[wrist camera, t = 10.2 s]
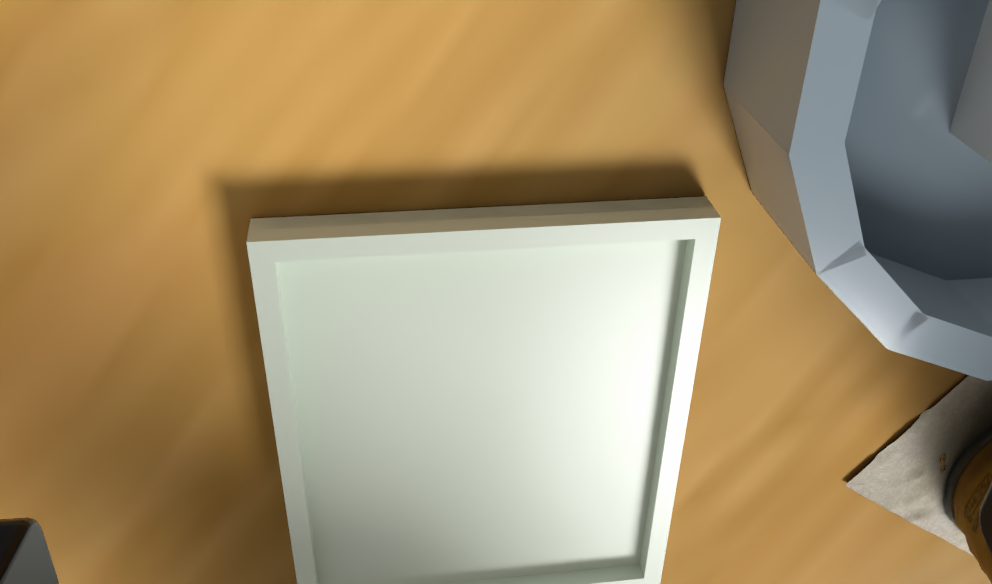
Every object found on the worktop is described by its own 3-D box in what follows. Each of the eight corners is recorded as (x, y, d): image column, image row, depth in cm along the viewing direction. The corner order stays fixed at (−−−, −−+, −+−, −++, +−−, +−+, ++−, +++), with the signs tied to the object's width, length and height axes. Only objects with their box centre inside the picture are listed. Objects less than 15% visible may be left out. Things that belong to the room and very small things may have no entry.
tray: (650, 561, 28) (659, 588, 27) (304, 594, 26) (303, 624, 26) (706, 196, 21) (720, 217, 20) (250, 218, 20) (246, 242, 19)
